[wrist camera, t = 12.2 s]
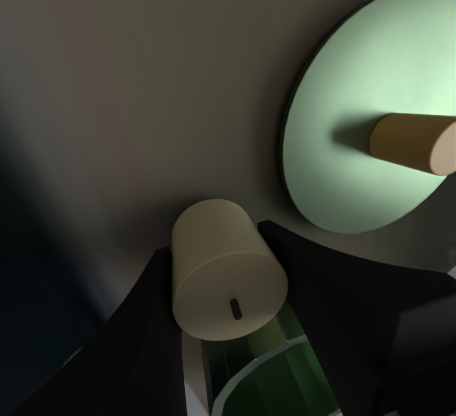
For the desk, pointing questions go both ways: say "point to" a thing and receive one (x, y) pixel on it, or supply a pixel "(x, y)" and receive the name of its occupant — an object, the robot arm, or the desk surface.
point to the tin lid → (373, 116)
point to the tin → (267, 373)
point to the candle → (223, 273)
